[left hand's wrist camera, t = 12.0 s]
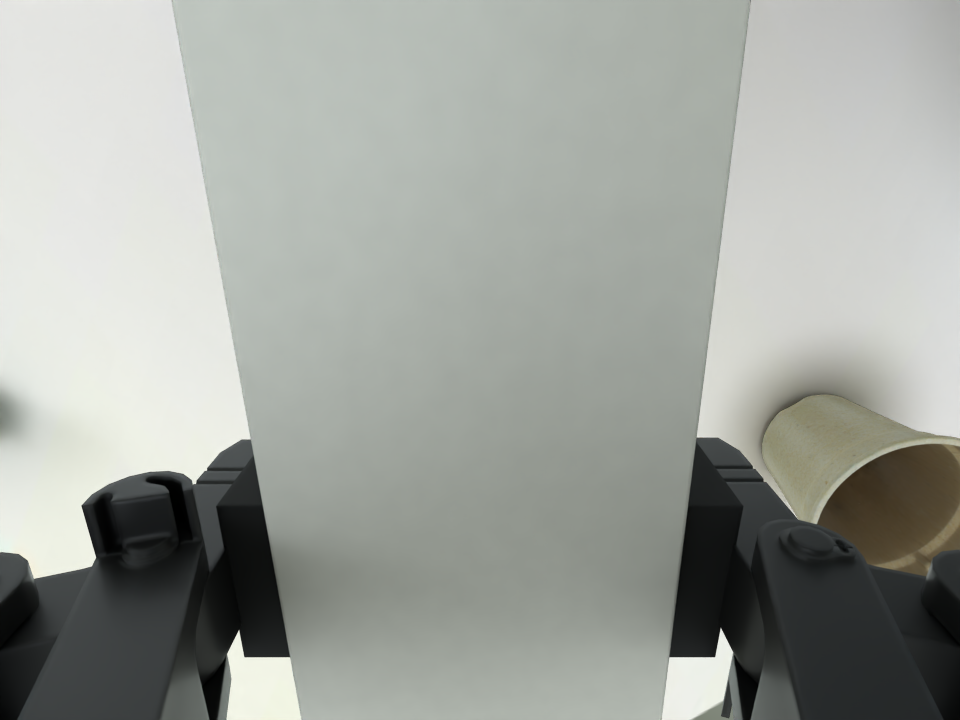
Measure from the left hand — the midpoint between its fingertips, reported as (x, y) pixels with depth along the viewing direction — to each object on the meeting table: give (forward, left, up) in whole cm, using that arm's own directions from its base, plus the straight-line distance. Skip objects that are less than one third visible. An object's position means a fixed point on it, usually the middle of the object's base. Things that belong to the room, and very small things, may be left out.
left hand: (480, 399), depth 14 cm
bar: (-16, -18, -1) cm, 24 cm away
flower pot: (-7, +22, -18) cm, 29 cm away
